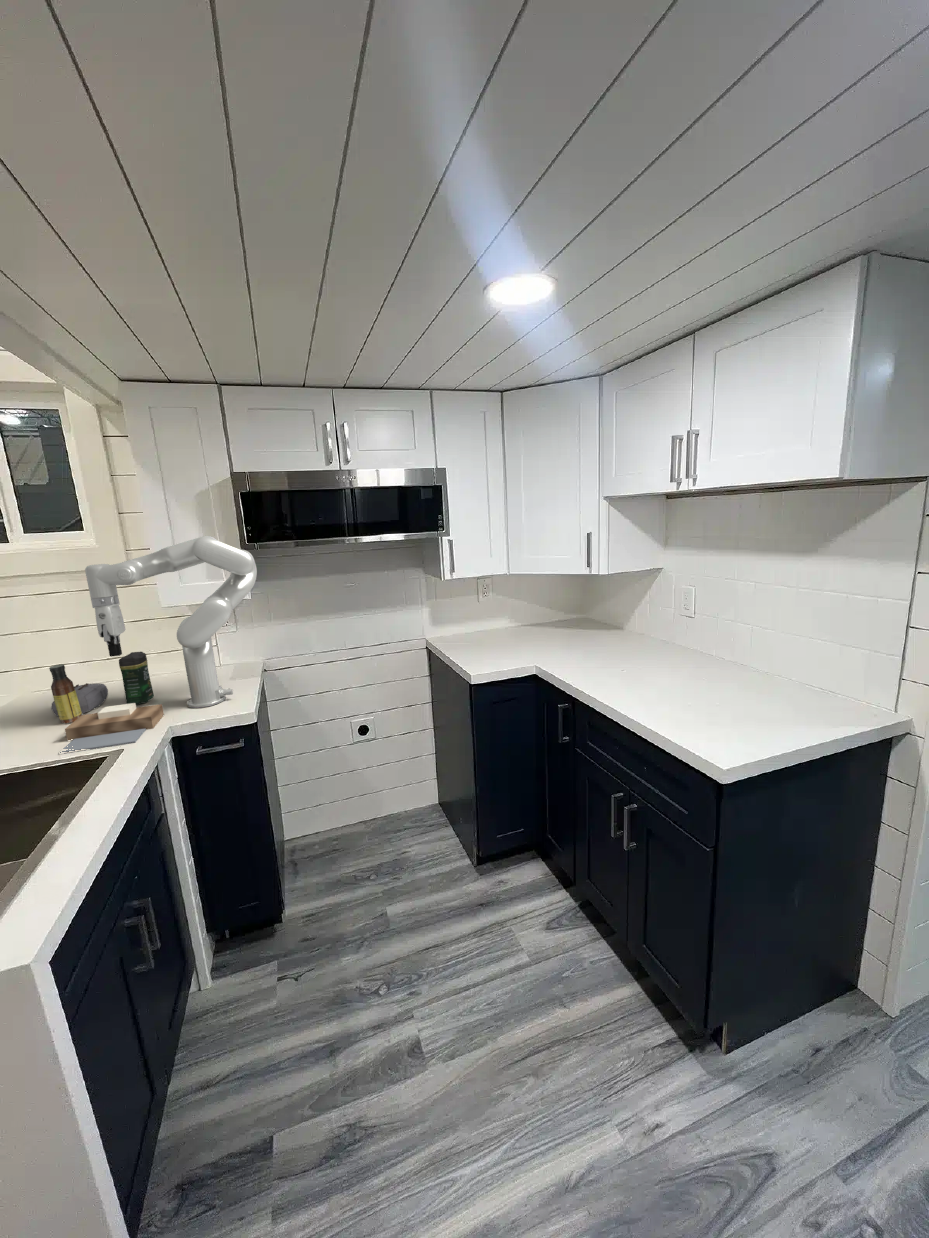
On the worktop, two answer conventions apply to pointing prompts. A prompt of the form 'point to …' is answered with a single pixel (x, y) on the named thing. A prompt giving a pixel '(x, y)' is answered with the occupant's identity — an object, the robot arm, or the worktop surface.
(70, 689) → the sauce bottle
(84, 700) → the small grey backpack
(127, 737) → the grey mat
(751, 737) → the worktop surface
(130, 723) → the walnut board
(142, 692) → the coffee jar
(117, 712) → the cream tile
